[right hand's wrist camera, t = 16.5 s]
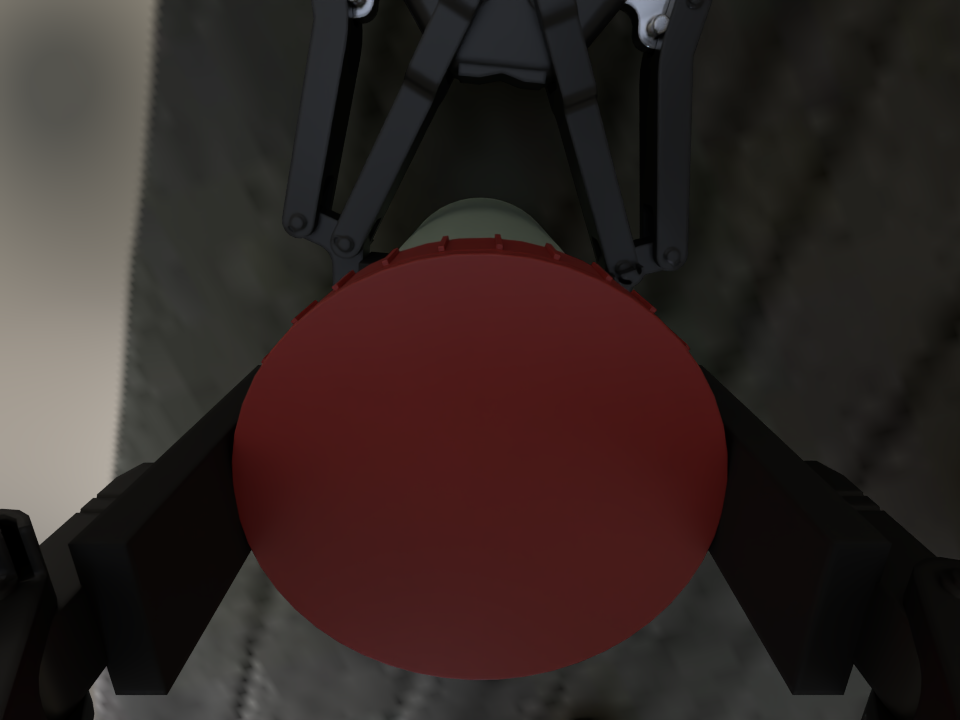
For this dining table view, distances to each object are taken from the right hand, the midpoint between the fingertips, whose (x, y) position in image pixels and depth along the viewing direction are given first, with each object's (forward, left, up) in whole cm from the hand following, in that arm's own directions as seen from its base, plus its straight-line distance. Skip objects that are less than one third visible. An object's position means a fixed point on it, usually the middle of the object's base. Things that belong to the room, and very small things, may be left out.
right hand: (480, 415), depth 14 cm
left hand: (-1, -5, -10) cm, 11 cm away
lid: (0, 0, +3) cm, 3 cm away
